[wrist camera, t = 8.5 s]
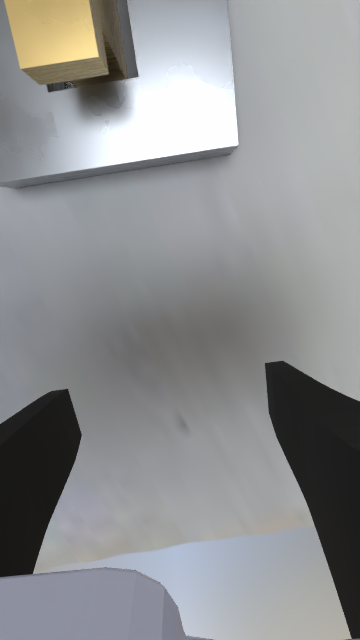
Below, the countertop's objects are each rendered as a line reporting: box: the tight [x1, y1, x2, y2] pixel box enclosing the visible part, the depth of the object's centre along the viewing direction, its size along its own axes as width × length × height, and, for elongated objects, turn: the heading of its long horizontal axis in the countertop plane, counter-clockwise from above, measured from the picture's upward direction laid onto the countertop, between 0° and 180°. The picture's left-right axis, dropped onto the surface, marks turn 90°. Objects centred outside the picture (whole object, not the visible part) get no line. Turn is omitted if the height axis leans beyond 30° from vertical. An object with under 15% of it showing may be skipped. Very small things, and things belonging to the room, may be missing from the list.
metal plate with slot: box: [0, 0, 238, 188], centre depth 15 cm, size 12×12×3 cm
